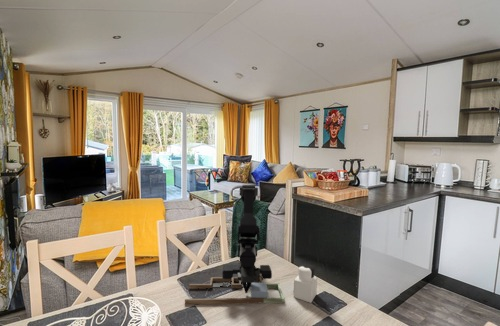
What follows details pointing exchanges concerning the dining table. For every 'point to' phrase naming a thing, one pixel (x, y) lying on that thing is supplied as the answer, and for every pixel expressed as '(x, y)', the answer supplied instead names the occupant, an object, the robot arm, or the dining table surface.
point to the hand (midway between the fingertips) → (246, 292)
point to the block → (259, 290)
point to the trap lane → (219, 282)
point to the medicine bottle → (305, 283)
